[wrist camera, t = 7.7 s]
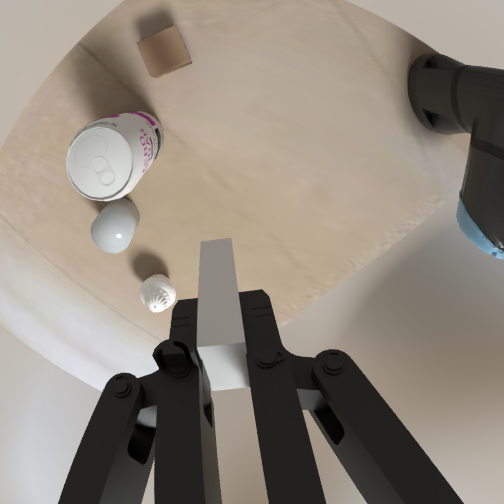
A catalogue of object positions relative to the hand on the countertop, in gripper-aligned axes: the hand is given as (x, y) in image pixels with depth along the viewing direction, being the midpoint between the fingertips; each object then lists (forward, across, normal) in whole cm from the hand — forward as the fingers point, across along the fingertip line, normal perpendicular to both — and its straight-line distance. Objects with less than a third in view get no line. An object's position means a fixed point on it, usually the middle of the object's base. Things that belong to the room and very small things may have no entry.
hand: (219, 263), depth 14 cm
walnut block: (+27, +5, -15) cm, 31 cm away
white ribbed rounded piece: (+27, +12, +20) cm, 36 cm away
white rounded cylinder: (+27, +16, +7) cm, 32 cm away
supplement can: (+27, +11, -4) cm, 29 cm away
